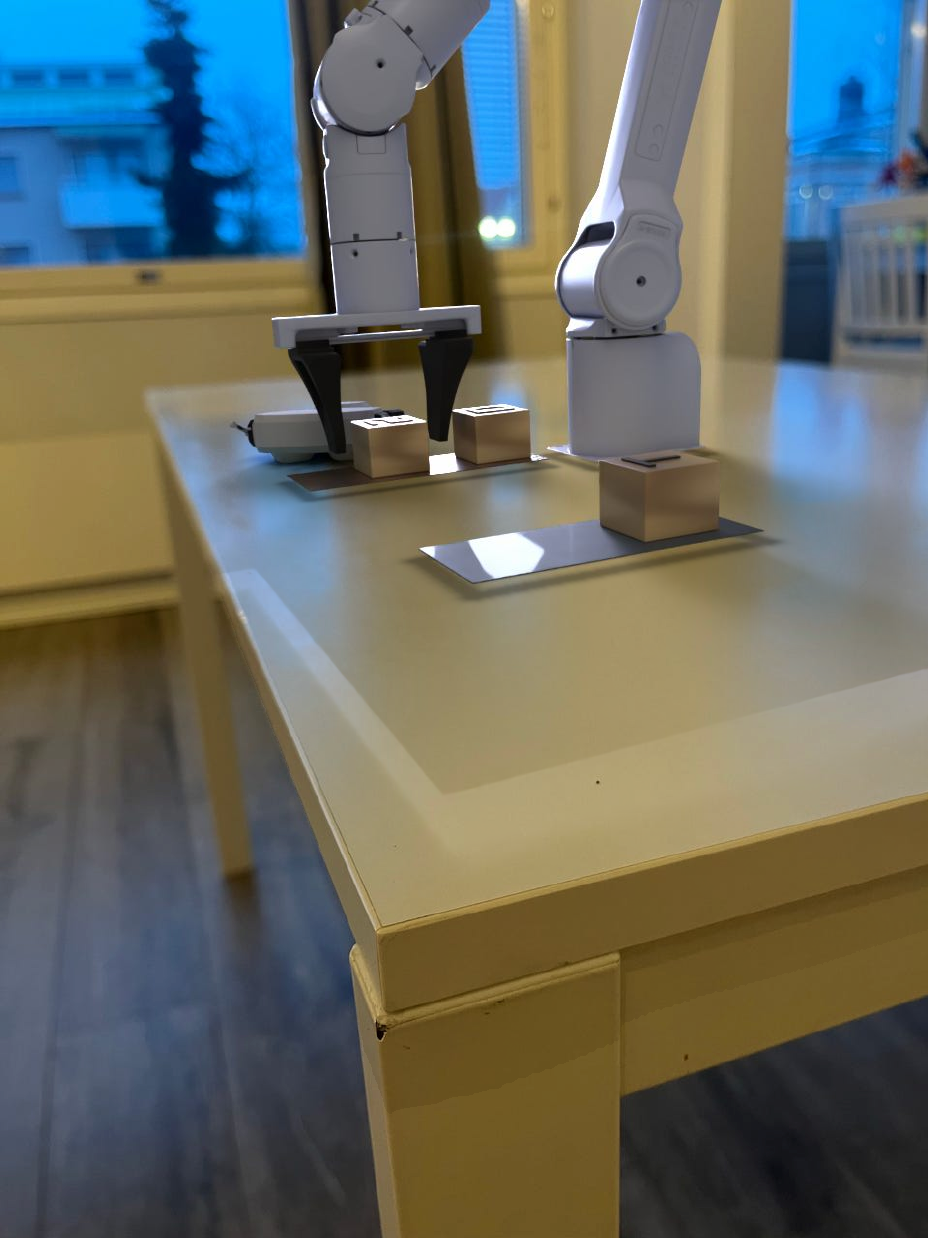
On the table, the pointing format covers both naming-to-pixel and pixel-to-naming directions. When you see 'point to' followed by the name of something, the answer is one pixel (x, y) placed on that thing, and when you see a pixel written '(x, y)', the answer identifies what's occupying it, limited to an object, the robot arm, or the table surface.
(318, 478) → the strip back
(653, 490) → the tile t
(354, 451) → the tile
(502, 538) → the strip front
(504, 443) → the tile
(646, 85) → the robot arm
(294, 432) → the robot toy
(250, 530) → the table surface
